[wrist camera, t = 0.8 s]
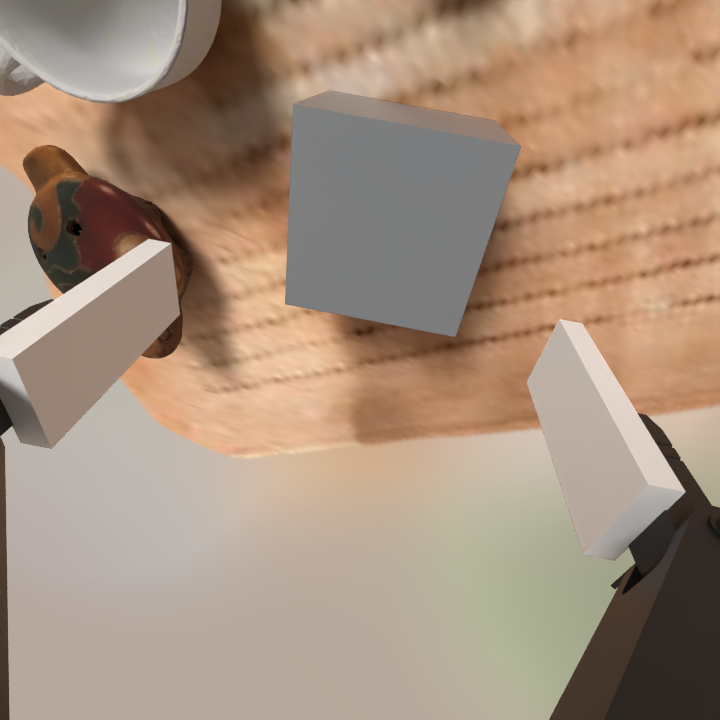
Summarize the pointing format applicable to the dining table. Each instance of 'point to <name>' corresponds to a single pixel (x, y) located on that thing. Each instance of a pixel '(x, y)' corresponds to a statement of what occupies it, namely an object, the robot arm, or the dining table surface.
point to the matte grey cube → (391, 208)
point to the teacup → (103, 45)
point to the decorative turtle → (93, 229)
